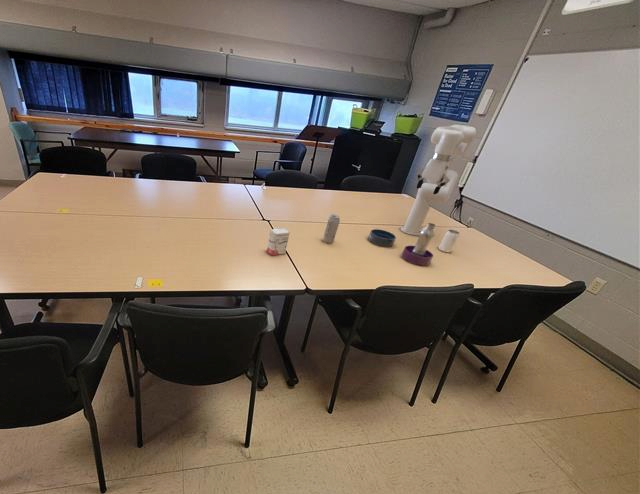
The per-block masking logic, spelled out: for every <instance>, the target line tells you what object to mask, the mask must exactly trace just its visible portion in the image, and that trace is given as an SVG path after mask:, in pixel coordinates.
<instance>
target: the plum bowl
mask: <svg viewBox="0 0 640 494" xmlns="http://www.w3.org/2000/svg"><path fill="white" fill-rule="evenodd" d="M414 247H415V245H405V246H404V247H403V250H402V253H401V257H402V258H403V260H405V261H407V262H409V263H411V264H414V265H418V266H429V265H430V263H431V262H432V259H433V258H434V253H432V252H431V251H430V250H428V249H426V252H425V256H424V257H421V256H417V255H414V254H412V253H411V252H412V250H413V249H414Z"/></svg>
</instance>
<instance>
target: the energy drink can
mask: <svg viewBox="0 0 640 494" xmlns="http://www.w3.org/2000/svg"><path fill="white" fill-rule="evenodd" d="M340 218H341V217H340V215H337V214H331V215H330V216H329V217H328V219H327V223H326V227H325V230H324V234H323V238H322V240H323V242H324V243H326V244H333V242H334V241H335V238H336V235H337V231H338V228H339V225H340V221H341V220H340Z"/></svg>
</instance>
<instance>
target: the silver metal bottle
mask: <svg viewBox="0 0 640 494" xmlns="http://www.w3.org/2000/svg"><path fill="white" fill-rule="evenodd" d="M435 227H436V224H435V223H431V222H427V224H426V225H425V227H424V228H422V229H421V231H420V235H418V239H417V242H416V244H415V245H414V246H415V247H414V249H413V250H412V252H411V253H412V254H414V255H417V256H421V257H424V256H425V252H426V250H428V249H427V248H428V247H429V244H430V243H431V241H432V239H433V238H434V237H435V231H434V230H435Z"/></svg>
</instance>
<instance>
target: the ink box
mask: <svg viewBox="0 0 640 494" xmlns="http://www.w3.org/2000/svg"><path fill="white" fill-rule="evenodd" d="M289 237H290V231H288V229H286V228H284V227H283V228H272V229H270V231H269V236H268V242H267V248H266V252H267V253H268V254H269V255H271V256H276V255H283V254H286V252H287V248H288V247H287V246H288V242H289Z"/></svg>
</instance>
